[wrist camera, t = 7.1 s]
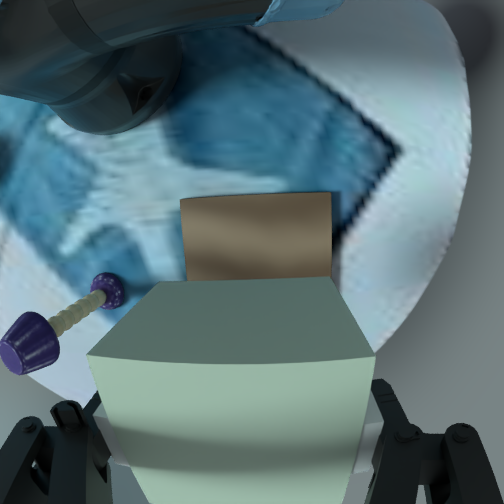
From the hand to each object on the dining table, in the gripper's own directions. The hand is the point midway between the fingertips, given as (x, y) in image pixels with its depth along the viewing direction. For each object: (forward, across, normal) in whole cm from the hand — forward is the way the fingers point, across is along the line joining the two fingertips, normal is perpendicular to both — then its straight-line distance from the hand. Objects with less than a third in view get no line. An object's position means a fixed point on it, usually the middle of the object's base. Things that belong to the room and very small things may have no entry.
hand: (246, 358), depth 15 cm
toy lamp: (+17, -17, -2) cm, 24 cm away
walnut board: (+17, 0, 0) cm, 17 cm away
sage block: (0, 0, 0) cm, 0 cm away
